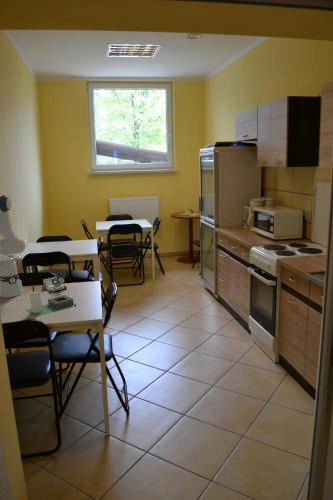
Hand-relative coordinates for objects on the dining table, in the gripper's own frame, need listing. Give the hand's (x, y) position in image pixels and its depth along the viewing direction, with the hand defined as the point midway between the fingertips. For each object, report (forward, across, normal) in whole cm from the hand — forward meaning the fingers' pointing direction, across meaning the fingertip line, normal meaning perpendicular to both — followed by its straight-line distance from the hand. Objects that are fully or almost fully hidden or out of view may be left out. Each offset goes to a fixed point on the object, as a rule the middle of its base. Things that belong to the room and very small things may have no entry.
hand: (15, 257), depth 234 cm
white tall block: (+6, -9, +33) cm, 35 cm away
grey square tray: (+21, -9, +34) cm, 41 cm away
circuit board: (+14, -9, +34) cm, 38 cm away
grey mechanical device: (+34, +25, +34) cm, 54 cm away
